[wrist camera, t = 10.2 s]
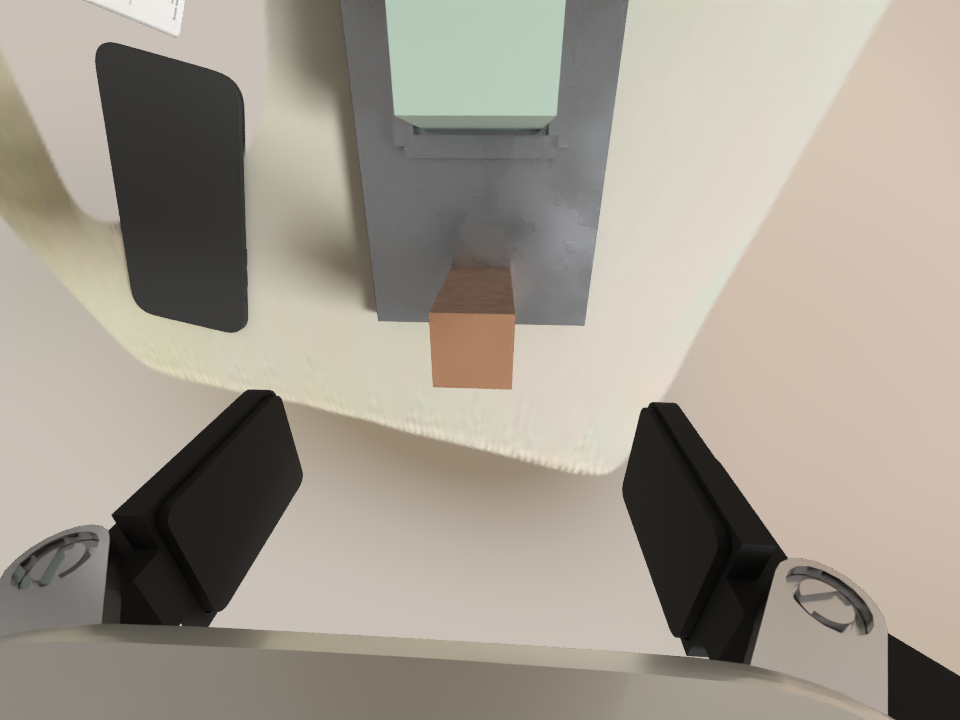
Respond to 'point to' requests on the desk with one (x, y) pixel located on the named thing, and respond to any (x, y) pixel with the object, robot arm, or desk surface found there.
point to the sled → (484, 200)
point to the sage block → (475, 62)
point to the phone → (178, 184)
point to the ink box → (149, 12)
